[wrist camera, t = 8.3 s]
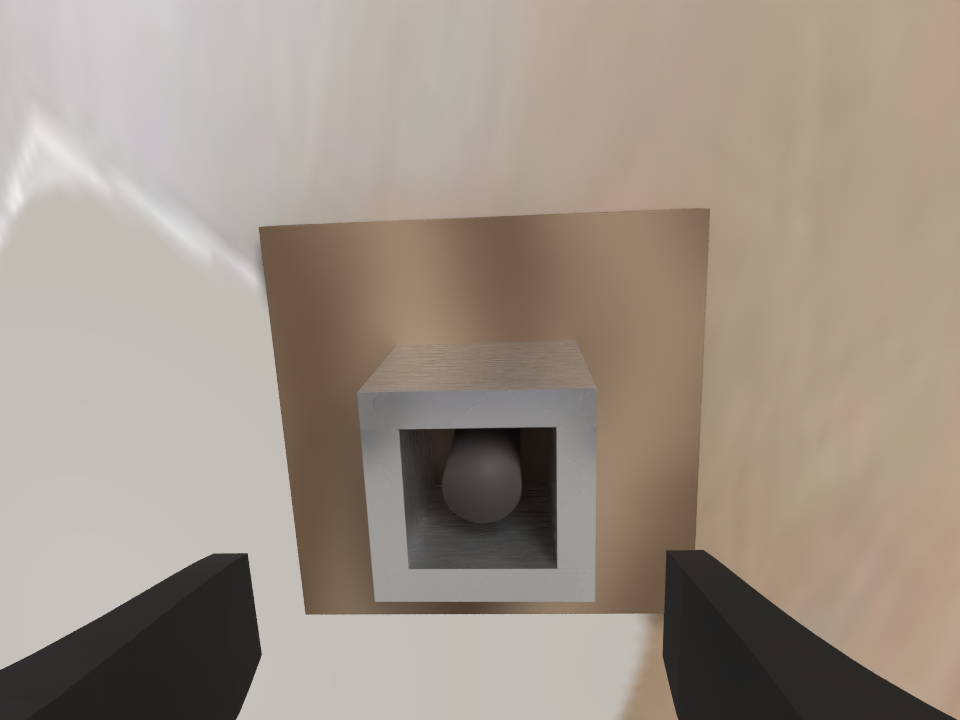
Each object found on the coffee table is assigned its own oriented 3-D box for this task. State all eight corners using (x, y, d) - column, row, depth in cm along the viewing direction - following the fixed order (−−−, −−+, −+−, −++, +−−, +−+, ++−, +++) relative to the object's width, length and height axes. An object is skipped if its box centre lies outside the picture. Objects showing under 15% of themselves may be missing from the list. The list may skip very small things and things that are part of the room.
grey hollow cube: (407, 507, 20) (374, 601, 16) (396, 344, 19) (357, 392, 14) (575, 506, 20) (595, 602, 15) (575, 340, 19) (596, 387, 14)
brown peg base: (316, 593, 23) (260, 703, 18) (273, 225, 20) (191, 233, 15) (682, 591, 22) (732, 706, 17) (697, 208, 19) (764, 210, 14)
